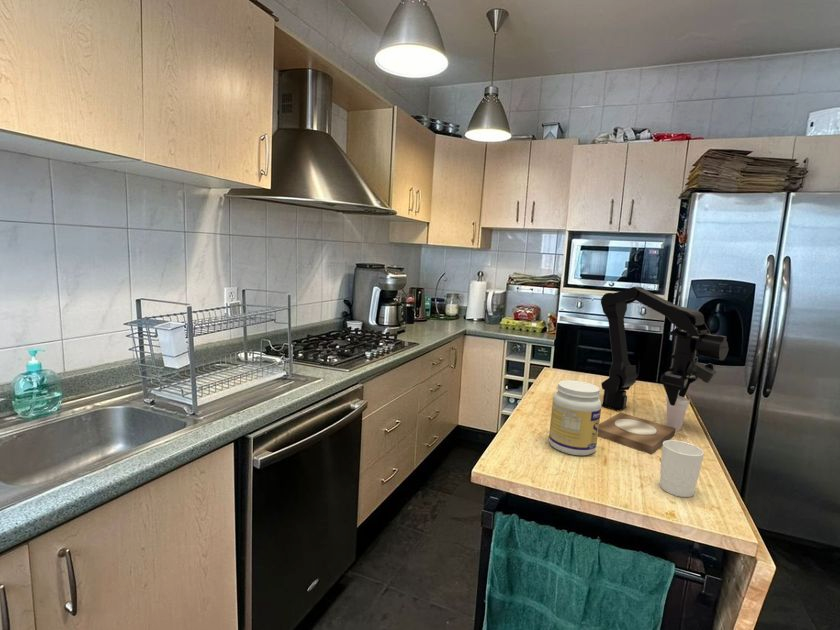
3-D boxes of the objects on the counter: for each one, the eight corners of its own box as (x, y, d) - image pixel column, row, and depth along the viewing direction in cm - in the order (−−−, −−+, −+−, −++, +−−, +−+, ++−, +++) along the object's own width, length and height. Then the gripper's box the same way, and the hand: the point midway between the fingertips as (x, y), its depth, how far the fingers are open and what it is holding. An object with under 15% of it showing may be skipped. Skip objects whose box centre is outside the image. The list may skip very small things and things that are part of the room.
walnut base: (592, 434, 130) (593, 425, 130) (619, 418, 144) (620, 410, 144) (651, 454, 119) (653, 444, 119) (674, 435, 133) (675, 426, 133)
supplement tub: (596, 461, 113) (604, 396, 110) (546, 450, 117) (552, 388, 115) (595, 442, 124) (603, 383, 122) (549, 433, 128) (556, 376, 126)
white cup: (692, 485, 104) (698, 444, 102) (700, 502, 96) (708, 458, 95) (654, 477, 106) (660, 437, 105) (659, 494, 99) (666, 451, 97)
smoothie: (657, 424, 142) (663, 381, 140) (676, 424, 142) (683, 381, 140) (670, 432, 135) (676, 387, 133) (690, 433, 136) (697, 388, 134)
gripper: (708, 362, 123) (698, 417, 125) (723, 354, 136) (714, 403, 139) (663, 353, 131) (656, 405, 133) (682, 346, 144) (675, 393, 146)
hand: (677, 402), depth 138 cm, fingers open, 9 cm apart
